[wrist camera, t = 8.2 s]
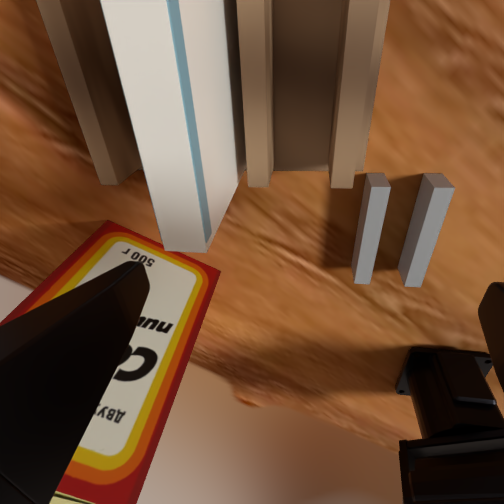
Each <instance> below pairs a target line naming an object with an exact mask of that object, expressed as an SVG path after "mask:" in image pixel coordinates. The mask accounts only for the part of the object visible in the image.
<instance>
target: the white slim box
mask: <svg viewBox="0 0 504 504" xmlns="http://www.w3.org/2000/svg"><path fill="white" fill-rule="evenodd" d="M100 4H101V7H102V11H103V15H104V19H105V23H106V27H107V31H108V35H109V38H110V42H111V46H112V50H113V54H114V58H115V62H116V65H117V69H118V73H119V77H120V81H121V85H122V89H123V93H124V96H125V100H126V104H127V108H128V112H129V116H130V120H131V124H132V127H133V131H134V135H135V139H136V143H137V147H138V151H139V155H140V158H141V162H142V166H143V170H144V174H145V178H146V182H147V186H148V189H149V193H150V197H151V201H152V205H153V209H154V213H155V217H156V220H157V224H158V228H159V232H160V236H161V240H162V241H163V245H164V249H165V251H179V252H199V253H207V251H208V249H209V247H210V245H211V242H212V240H213V238H214V236H215V234H216V232H217V229H218V227H219V225H220V223H221V221H222V218H223V216H224V214H225V212H226V210H227V208H228V205H229V203H230V201H231V199H232V197H233V194H234V192H235V190H236V188H237V186H238V184H239V181H240V179H241V177H242V175H243V173H244V170H245V168H246V166H247V159H246V143H245V127H244V112H243V96H242V80H241V64H240V48H239V32H238V17H237V1H236V0H100Z"/></svg>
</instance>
